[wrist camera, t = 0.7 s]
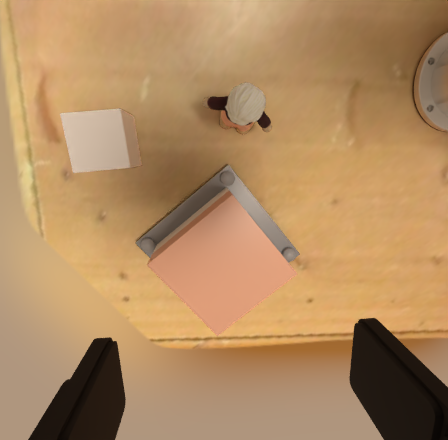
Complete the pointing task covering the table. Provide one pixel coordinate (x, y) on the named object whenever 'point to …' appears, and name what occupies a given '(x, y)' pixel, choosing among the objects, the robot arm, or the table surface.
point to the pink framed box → (220, 251)
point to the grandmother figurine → (241, 108)
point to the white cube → (101, 140)
